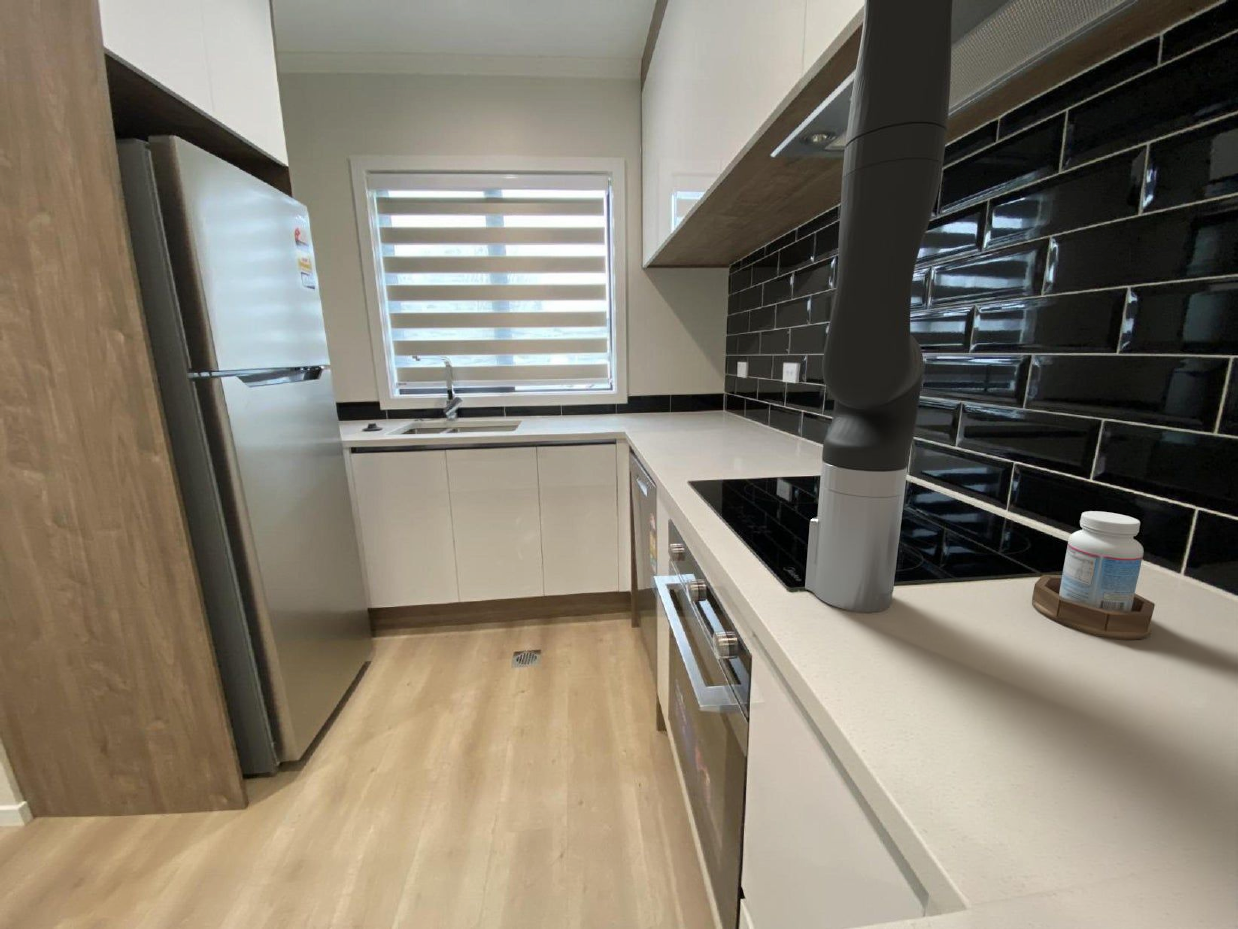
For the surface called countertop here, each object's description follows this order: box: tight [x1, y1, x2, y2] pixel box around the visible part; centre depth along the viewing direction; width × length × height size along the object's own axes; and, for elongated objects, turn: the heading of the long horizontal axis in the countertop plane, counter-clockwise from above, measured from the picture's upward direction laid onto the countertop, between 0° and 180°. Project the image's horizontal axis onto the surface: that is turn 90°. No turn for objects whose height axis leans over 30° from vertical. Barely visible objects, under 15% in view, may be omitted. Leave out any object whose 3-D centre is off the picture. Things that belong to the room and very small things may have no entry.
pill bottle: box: [1059, 510, 1144, 611], centre depth 56 cm, size 6×6×11 cm
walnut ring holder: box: [1031, 574, 1156, 641], centre depth 57 cm, size 10×10×3 cm
